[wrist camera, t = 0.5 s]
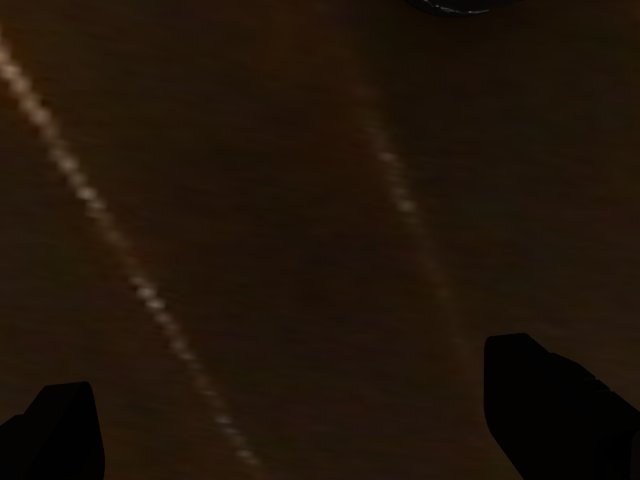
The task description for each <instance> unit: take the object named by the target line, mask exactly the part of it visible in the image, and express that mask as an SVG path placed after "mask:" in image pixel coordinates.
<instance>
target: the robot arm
mask: <svg viewBox="0 0 640 480" xmlns="http://www.w3.org/2000/svg"><path fill="white" fill-rule="evenodd" d="M406 1H407V2H409V3H410V4H411V5H413V6H414V7H416V8H419V9H421V10H423V11H426V12H428V13H430V14H435V15H441V16H446V17H457V16H468V15H472V14H476V13H482V12H487V11H489V10H490V9H493V8H496V7H500V6H503V5H508V4H511V3H515V2H518V1H522V0H406ZM484 413H485V418H486V422H487V425H488V428H489V430H490V432H491V434H492V436H493V437H494V439H495V440H496V441H497V443H498V444H499V446H500V447H501V448H502V450H503V451H504V453H505V454H506V455H507V457H508V458H509V459H510V461H511V462H512V464H513V465H514V466H515V468H516V469H517V471H518V472H519V473H520V475H521V476H522V477H523V479H524V480H640V412H639V411H638V410H636V409H635V408H634V407H633V406H631V405H630V404H629V403H628V402H626V401H625V400H624V399H623V398H621V397H620V396H619V395H617V394H616V393H615V392H614V391H612V392H611V391H610V388H609V387H607V386H606V385H605V384H604V383H602V382H601V381H600V380H596V378H595V376H594V375H592V374H591V373H590V372H589V371H587V370H586V369H585V368H584V367H582V366H581V365H580V364H578V363H576V362H574V361H572V360H569V359H567V358H565V357H562V356H560V355H558V354H556V353H549V352H548V351H547V350H546V349H544V348H543V347H542V346H541V345H540V344H539V343H537V342H536V341H535V340H534V339H533V338H531V337H530V336H529V335H528V334H526V333H516V334H508V335H499V336H490V337H488V338H487V340H486V342H485V347H484ZM104 471H105V455H104V448H103V443H102V437H101V432H100V427H99V421H98V416H97V411H96V406H95V400H94V395H93V391H92V388H91V386H90V384H89V383H88V382H86V381H84V382H75V383H66V384H57V385H48V386H45V387H44V388H43V389H42V390H41V391H40V393H39V394H38V395H37V397H36V398H35V399H34V401H33V402H32V403H31V405H30V406H29V407H28V409H27V410H26V411H25V413H24V414H21V415H15V416H13V417H12V418H11V419H9V420H8V421H6V422H5V423H4V424H2V425H1V426H0V480H103V478H104Z"/></svg>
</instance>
